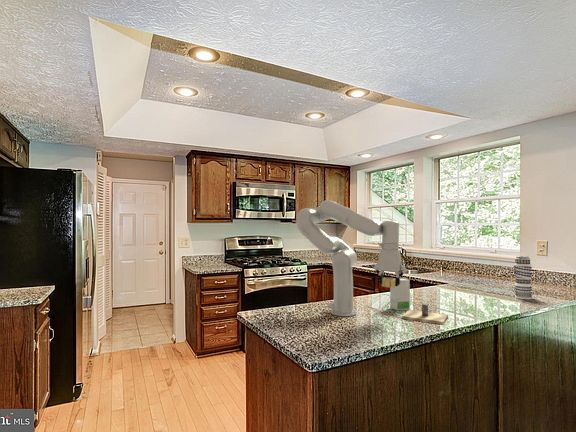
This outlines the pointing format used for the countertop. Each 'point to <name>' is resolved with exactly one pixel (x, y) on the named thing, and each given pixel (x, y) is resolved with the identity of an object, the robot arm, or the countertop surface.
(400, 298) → the skincare box
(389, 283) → the ring
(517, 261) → the decorative candle
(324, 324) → the countertop surface
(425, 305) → the beige flat block
